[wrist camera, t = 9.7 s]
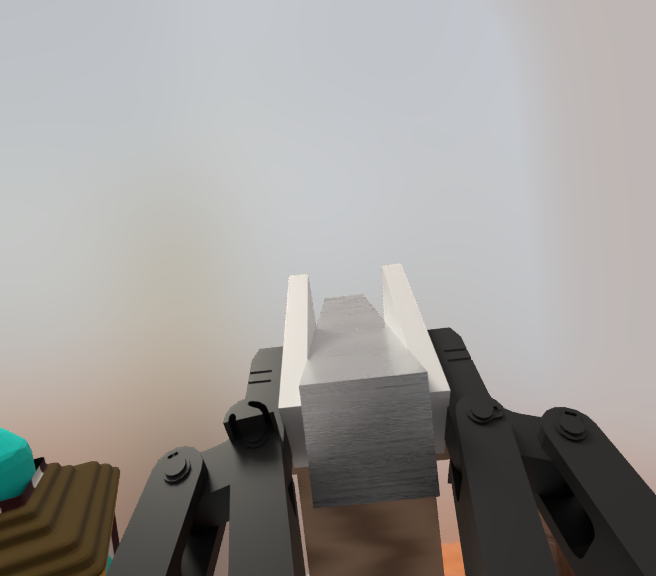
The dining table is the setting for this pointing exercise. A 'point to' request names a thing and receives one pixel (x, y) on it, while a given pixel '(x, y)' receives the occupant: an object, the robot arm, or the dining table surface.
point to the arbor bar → (365, 411)
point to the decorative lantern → (55, 514)
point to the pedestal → (371, 535)
